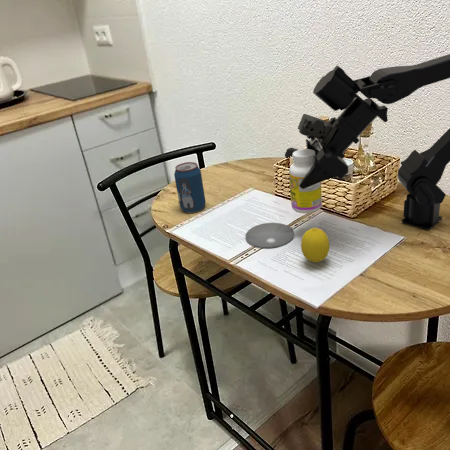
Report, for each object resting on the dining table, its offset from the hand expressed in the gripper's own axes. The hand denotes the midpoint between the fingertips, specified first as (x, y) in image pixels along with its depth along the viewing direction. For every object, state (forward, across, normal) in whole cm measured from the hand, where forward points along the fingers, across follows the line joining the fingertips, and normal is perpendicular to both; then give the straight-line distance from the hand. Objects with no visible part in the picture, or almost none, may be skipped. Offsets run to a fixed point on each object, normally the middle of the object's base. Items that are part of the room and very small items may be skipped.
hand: (298, 181), depth 101 cm
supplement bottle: (+4, 0, +6) cm, 7 cm away
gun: (+4, -31, +14) cm, 34 cm away
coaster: (+14, 0, +4) cm, 15 cm away
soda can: (+28, -19, -10) cm, 35 cm away
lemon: (+8, +13, +10) cm, 18 cm away
